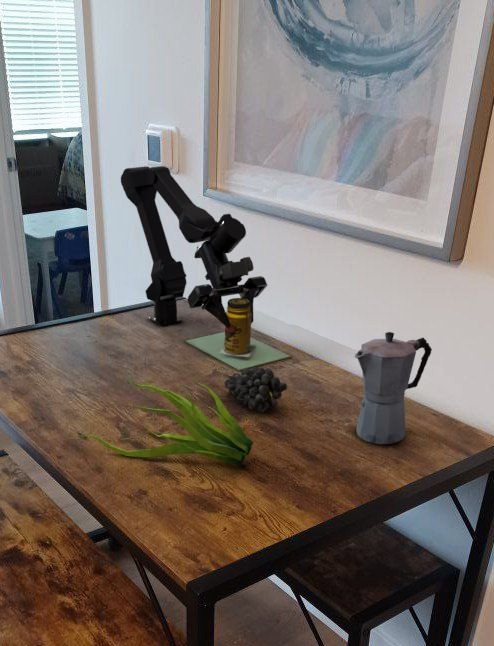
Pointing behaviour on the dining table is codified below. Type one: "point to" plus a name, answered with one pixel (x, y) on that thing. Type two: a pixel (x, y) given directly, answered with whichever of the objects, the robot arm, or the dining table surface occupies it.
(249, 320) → the condiment
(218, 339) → the mat
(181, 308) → the dining table surface
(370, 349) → the moka pot
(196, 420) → the decorative plant
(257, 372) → the fruit
